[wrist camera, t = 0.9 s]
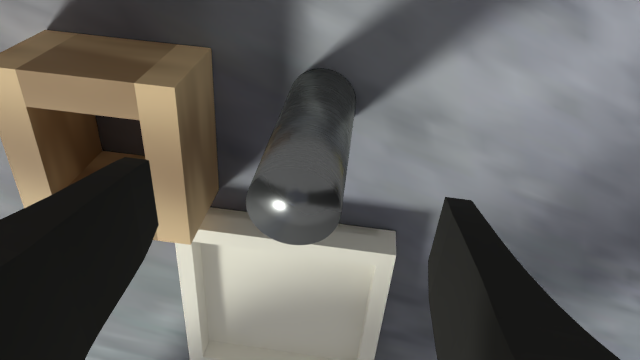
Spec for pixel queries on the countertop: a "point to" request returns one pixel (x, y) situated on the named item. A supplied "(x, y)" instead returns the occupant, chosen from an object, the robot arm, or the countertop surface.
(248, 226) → the tray
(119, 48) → the wooden square frame
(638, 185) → the countertop surface
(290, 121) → the cylinder
